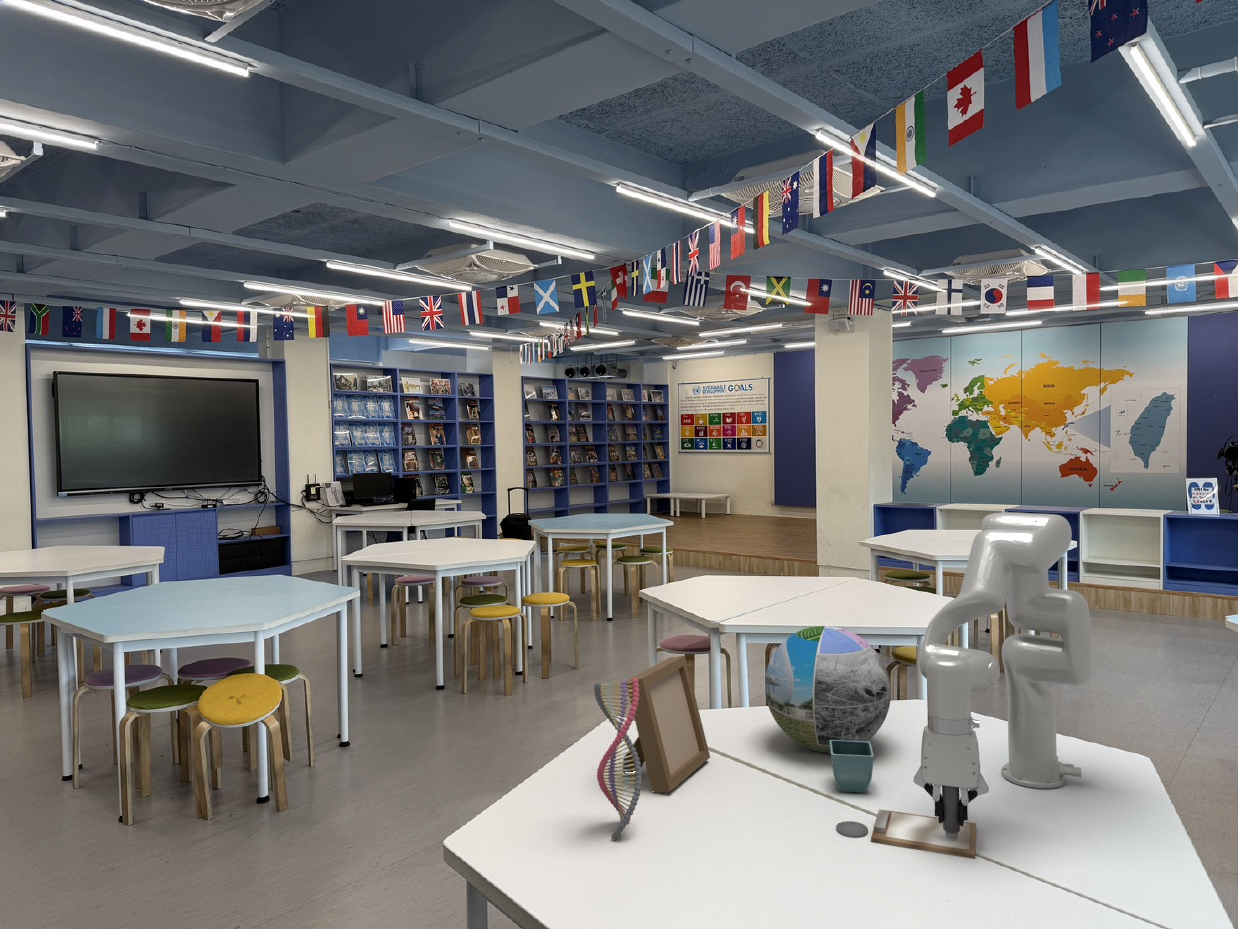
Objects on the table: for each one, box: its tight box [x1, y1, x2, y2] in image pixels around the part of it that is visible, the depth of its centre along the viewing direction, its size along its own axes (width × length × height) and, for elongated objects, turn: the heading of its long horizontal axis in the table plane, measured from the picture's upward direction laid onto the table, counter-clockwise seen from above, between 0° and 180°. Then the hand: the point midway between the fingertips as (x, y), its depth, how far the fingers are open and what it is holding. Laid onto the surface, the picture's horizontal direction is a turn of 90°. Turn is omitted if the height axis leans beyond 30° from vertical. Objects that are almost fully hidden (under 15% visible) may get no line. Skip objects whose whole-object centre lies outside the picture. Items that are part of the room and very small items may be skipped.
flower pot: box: [830, 740, 875, 793], centre depth 180 cm, size 9×9×9 cm
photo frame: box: [622, 654, 711, 794], centre depth 192 cm, size 15×22×25 cm
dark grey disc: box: [835, 820, 869, 839], centre depth 161 cm, size 6×6×1 cm
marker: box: [941, 786, 961, 838], centre depth 154 cm, size 3×3×12 cm
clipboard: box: [870, 808, 977, 859], centre depth 158 cm, size 18×13×2 cm
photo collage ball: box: [764, 625, 892, 754], centre depth 204 cm, size 30×30×30 cm
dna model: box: [593, 678, 643, 841], centre depth 163 cm, size 9×9×30 cm
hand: (951, 821), depth 154 cm, fingers closed on marker, 3 cm apart
